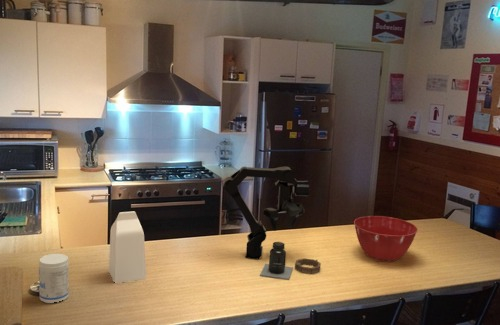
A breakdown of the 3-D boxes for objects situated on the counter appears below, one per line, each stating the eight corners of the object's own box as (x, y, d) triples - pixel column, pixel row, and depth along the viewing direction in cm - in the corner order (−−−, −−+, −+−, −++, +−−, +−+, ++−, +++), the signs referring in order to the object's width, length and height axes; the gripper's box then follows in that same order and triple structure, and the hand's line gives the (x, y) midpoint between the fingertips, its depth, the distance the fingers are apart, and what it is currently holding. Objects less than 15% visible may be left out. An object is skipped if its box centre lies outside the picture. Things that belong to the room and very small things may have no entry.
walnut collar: (293, 271, 200) (294, 264, 200) (296, 262, 210) (297, 255, 210) (318, 275, 198) (319, 267, 197) (320, 265, 208) (321, 258, 207)
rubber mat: (259, 276, 194) (259, 274, 194) (265, 265, 206) (265, 263, 206) (288, 280, 192) (289, 278, 192) (292, 268, 203) (293, 267, 203)
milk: (114, 284, 181) (114, 218, 176) (108, 272, 191) (108, 209, 186) (146, 279, 186) (146, 215, 182) (138, 268, 196) (139, 207, 192)
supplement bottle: (274, 275, 194) (276, 247, 192) (265, 269, 200) (266, 242, 198) (288, 272, 198) (290, 244, 196) (278, 266, 203) (280, 239, 201)
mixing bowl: (377, 271, 205) (380, 237, 202) (339, 248, 230) (341, 218, 227) (427, 264, 216) (431, 231, 214) (385, 242, 242) (388, 213, 239)
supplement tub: (34, 297, 167) (33, 257, 164) (60, 289, 174) (59, 251, 172) (48, 307, 161) (47, 266, 158) (74, 298, 168) (73, 258, 165)
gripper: (278, 202, 200) (276, 237, 202) (313, 197, 209) (310, 231, 212) (263, 195, 209) (261, 229, 212) (297, 192, 219) (295, 224, 221)
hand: (282, 229), depth 214 cm, fingers open, 9 cm apart
